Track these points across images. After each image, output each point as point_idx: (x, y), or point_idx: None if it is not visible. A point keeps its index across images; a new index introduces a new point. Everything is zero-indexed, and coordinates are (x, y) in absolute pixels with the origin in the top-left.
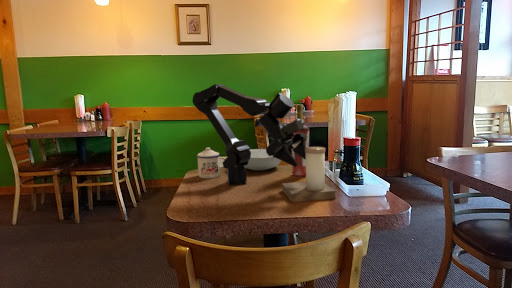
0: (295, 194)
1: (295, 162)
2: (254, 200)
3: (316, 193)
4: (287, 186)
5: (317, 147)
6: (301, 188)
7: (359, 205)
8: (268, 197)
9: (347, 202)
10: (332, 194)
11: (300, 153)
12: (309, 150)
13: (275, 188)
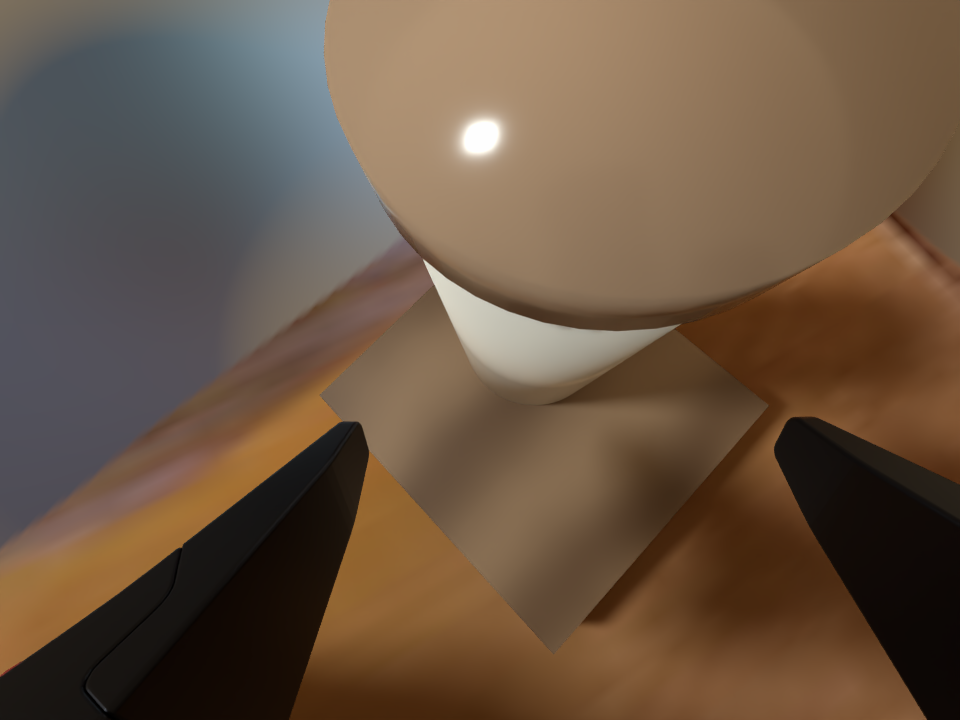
0: (746, 388)
1: (859, 440)
2: (885, 684)
3: None
4: (610, 553)
5: (437, 26)
6: (596, 421)
7: None
8: (753, 623)
9: None
10: None
11: (275, 681)
12: (955, 22)
13: (521, 712)
